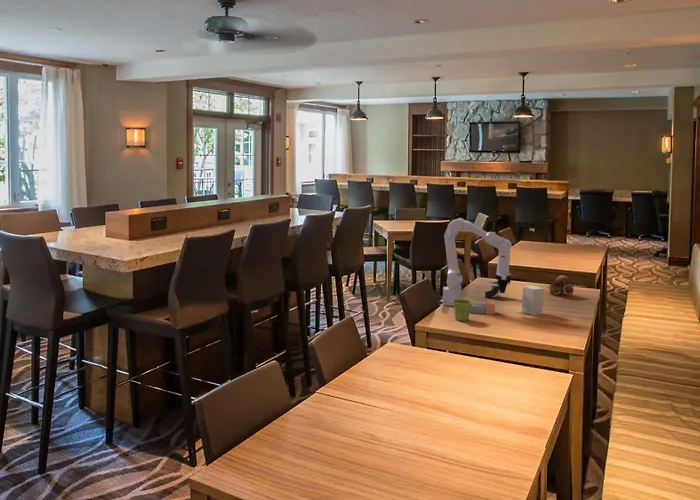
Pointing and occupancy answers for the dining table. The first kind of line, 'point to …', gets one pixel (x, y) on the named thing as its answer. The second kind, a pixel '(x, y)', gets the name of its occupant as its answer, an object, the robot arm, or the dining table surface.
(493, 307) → the stub
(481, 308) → the slotted gray housing
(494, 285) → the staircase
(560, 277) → the seed pod
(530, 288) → the small box
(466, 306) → the plant pot
